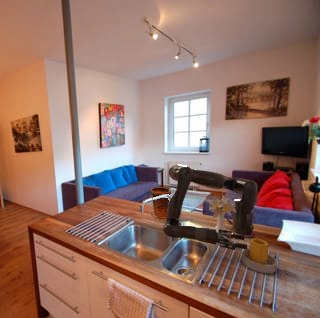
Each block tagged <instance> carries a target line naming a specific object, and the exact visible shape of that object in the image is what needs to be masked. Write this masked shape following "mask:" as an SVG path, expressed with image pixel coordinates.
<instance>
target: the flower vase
mask: <svg viewBox="0 0 320 318" xmlns="http://www.w3.org/2000/svg"><path fill="white" fill-rule="evenodd" d="M221 196H222V198H221V200H220V199H219V198H218V196H213V197H212V199H211V200H210V201H209V202H208V207H209V208H208V209H209V212H210V213H213V215H212V217H213V218H214V219H215V218H217V220H216V225H215V227H212V229H216V232H218V230H219V229H221V230H227V228H226V226H225V218H226V217H224V216H225V215H226V214H227V215H228V216H232V212H233V214H234V213H235V212H236V209H235V208H234V207H235V206H236V204H235V203H234V200H235V199H232V198H231V197H227V198H226V196H225V195H224V194H222V195H221ZM228 233H229V232H228Z"/></svg>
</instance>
